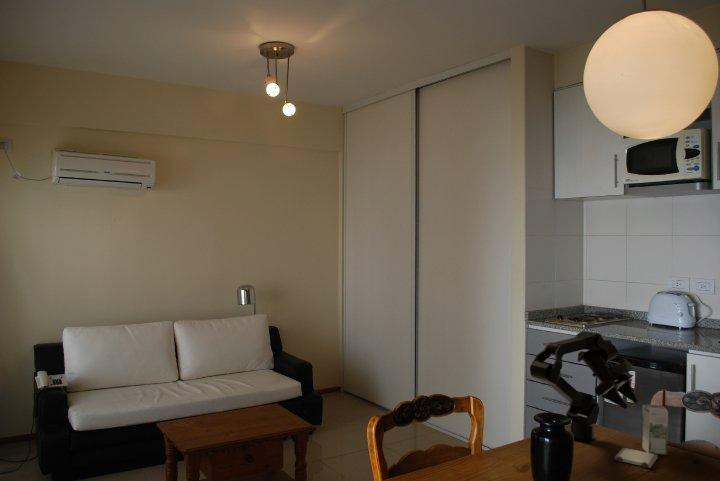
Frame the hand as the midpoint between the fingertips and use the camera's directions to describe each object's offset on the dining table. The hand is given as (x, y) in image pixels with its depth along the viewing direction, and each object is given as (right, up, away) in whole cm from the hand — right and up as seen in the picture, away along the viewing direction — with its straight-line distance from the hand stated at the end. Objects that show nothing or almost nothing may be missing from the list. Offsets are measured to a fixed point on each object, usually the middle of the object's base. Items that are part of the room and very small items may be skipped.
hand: (631, 405), depth 193 cm
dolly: (-4, -14, -12) cm, 18 cm away
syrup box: (+5, -14, -5) cm, 15 cm away
